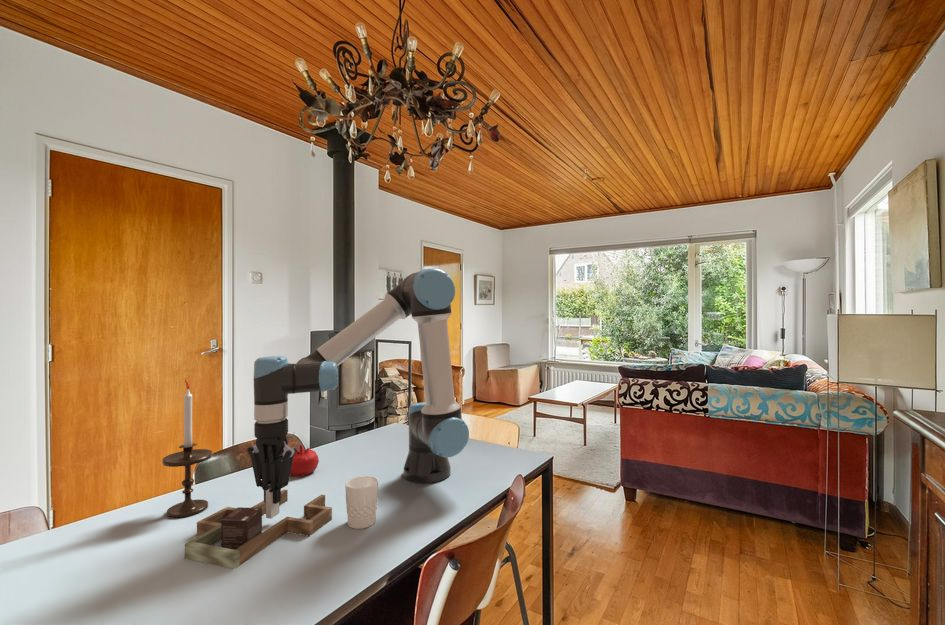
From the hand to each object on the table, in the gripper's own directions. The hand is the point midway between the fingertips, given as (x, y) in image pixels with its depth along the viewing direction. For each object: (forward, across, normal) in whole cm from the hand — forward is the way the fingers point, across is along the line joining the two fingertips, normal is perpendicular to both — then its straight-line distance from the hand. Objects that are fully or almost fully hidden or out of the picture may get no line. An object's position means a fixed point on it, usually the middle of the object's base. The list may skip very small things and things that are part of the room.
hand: (272, 515), depth 103 cm
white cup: (+3, -21, -7) cm, 22 cm away
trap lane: (+2, 0, +3) cm, 3 cm away
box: (+2, -1, +10) cm, 10 cm away
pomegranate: (+3, +16, -31) cm, 35 cm away
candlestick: (+2, +27, 0) cm, 27 cm away
